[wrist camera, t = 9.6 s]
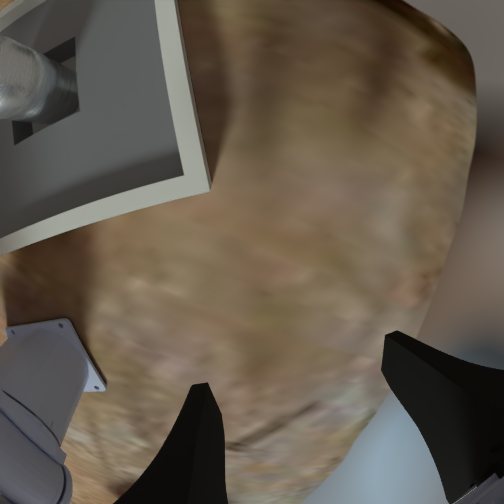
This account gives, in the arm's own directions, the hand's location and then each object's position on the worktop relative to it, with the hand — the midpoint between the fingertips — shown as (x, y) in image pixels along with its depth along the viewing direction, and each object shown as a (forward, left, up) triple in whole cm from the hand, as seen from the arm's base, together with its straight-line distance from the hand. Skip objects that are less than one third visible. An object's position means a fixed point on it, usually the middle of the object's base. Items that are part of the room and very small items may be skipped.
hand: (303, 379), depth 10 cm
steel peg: (-11, +16, -9) cm, 21 cm away
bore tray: (-11, +16, -10) cm, 22 cm away
